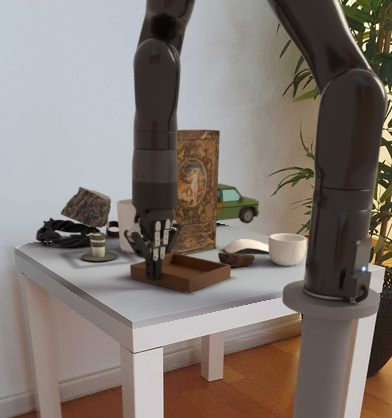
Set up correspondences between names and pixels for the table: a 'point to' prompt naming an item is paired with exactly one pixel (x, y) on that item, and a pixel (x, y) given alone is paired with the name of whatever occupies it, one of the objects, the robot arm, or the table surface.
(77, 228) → the cable
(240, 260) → the stone
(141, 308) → the table surface
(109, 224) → the watch
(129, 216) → the mug
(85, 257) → the olive disc with post
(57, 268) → the table surface
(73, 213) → the stone block
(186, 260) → the tray
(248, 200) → the toy truck
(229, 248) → the computer mouse
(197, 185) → the book
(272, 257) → the teacup
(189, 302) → the table surface
